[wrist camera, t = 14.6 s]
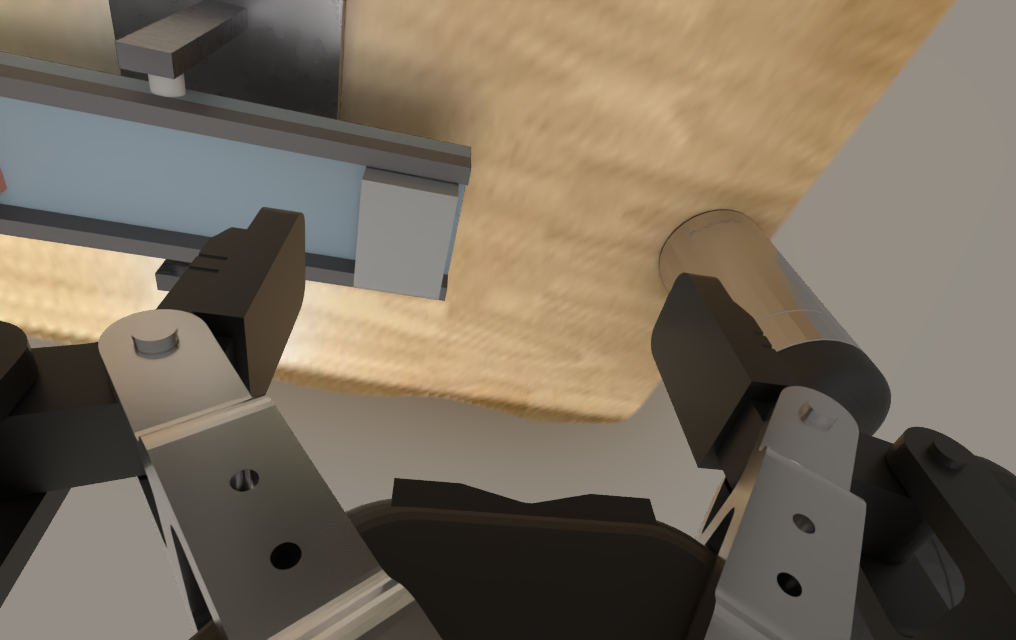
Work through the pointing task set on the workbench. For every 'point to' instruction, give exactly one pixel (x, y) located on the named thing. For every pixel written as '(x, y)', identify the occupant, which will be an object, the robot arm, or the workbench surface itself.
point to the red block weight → (2, 182)
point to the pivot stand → (236, 55)
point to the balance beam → (221, 176)
